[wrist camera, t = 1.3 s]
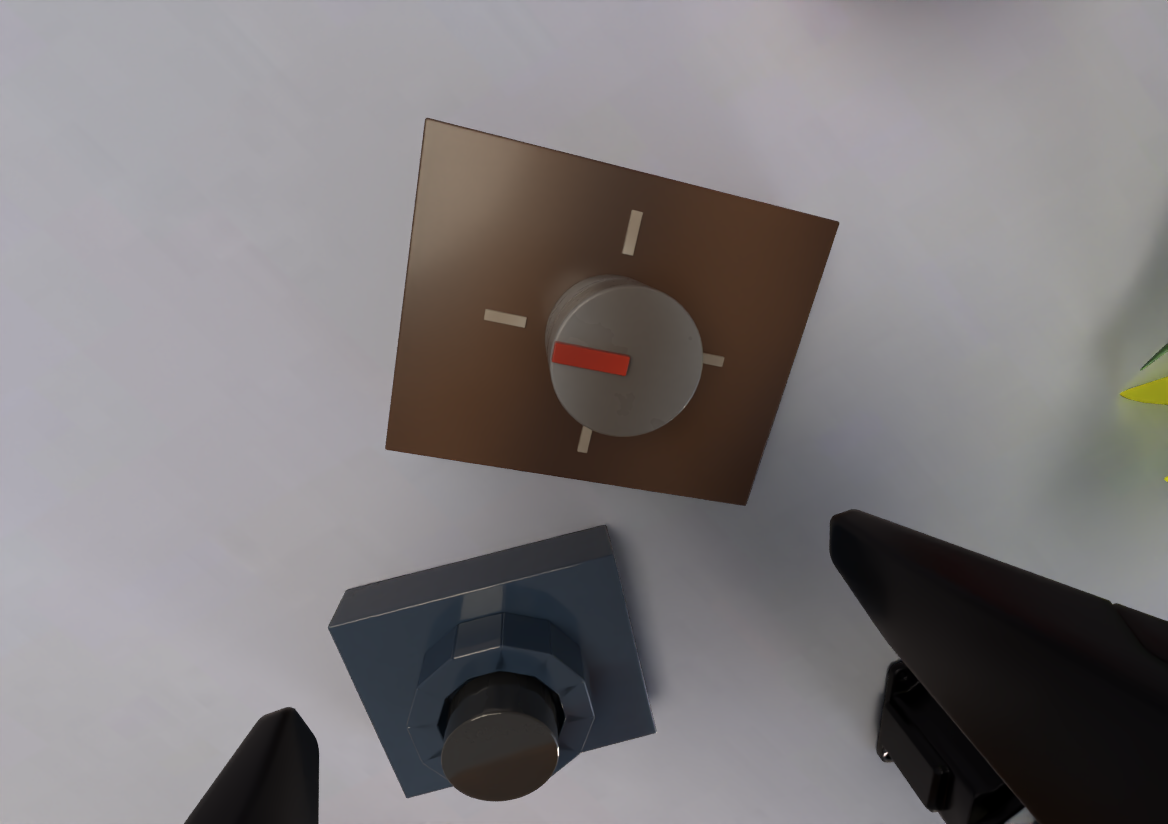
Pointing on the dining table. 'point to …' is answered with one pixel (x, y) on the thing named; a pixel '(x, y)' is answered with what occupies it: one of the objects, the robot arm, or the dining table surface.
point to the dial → (622, 355)
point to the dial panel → (559, 261)
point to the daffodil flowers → (1151, 388)
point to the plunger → (500, 737)
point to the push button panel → (496, 648)
